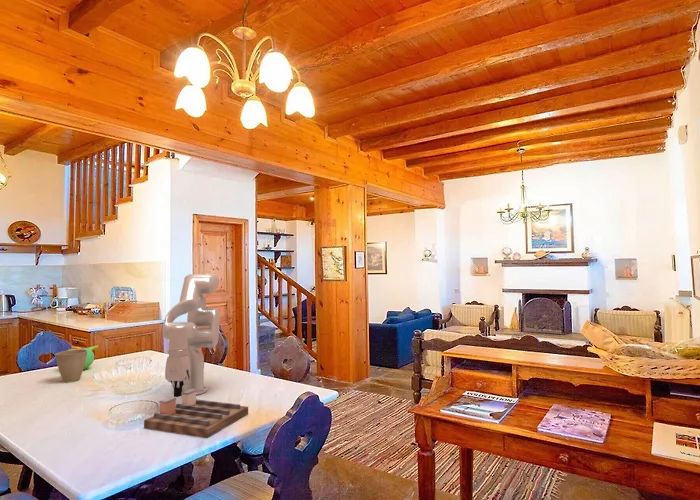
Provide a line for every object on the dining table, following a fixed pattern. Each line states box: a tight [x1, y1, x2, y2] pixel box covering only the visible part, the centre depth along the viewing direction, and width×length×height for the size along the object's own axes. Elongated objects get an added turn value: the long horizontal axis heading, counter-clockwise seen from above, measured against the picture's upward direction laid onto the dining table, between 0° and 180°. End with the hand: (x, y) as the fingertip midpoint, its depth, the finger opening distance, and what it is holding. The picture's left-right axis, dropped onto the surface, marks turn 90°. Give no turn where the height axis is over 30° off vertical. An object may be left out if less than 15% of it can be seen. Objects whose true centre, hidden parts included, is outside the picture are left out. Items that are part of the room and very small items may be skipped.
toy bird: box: [66, 345, 99, 370], centre depth 258 cm, size 18×17×15 cm
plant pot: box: [55, 349, 87, 383], centre depth 233 cm, size 15×15×16 cm
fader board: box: [143, 398, 249, 439], centre depth 168 cm, size 30×26×5 cm
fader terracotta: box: [158, 396, 177, 415], centre depth 166 cm, size 3×5×6 cm, turn 160°
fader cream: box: [181, 389, 197, 405], centre depth 177 cm, size 3×5×6 cm, turn 160°
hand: (177, 396), depth 179 cm, fingers closed
